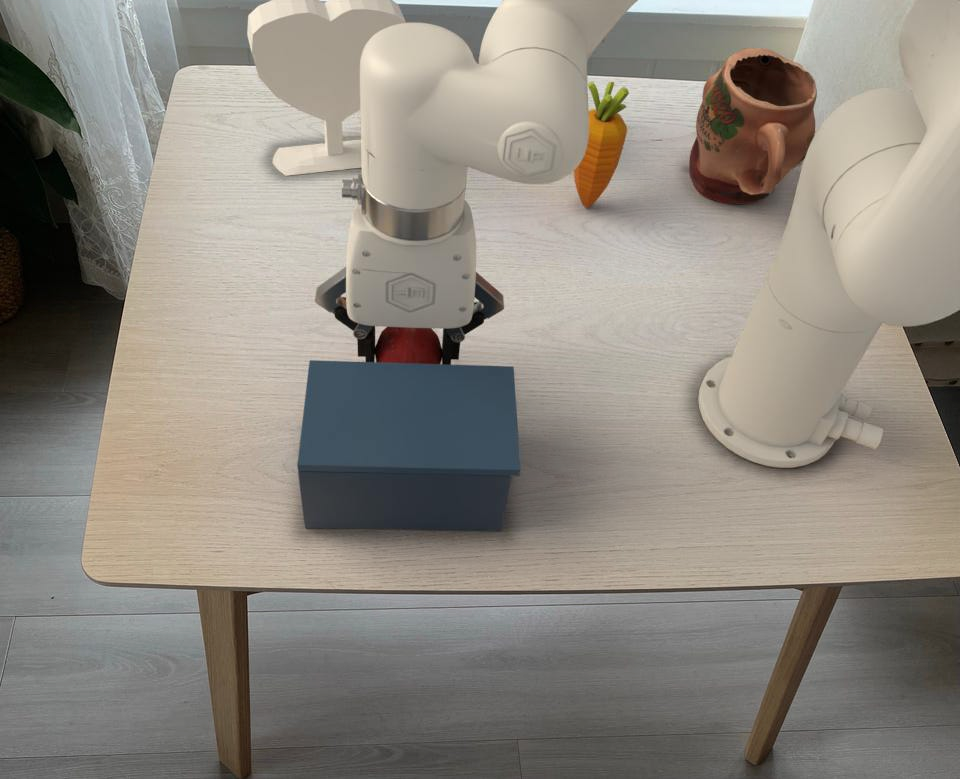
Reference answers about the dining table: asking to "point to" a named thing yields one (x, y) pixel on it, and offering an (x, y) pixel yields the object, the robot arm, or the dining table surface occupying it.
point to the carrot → (601, 144)
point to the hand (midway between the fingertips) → (408, 358)
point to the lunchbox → (403, 501)
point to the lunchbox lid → (409, 419)
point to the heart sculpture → (317, 69)
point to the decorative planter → (752, 126)
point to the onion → (408, 346)
